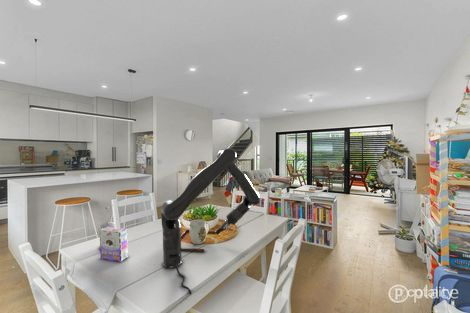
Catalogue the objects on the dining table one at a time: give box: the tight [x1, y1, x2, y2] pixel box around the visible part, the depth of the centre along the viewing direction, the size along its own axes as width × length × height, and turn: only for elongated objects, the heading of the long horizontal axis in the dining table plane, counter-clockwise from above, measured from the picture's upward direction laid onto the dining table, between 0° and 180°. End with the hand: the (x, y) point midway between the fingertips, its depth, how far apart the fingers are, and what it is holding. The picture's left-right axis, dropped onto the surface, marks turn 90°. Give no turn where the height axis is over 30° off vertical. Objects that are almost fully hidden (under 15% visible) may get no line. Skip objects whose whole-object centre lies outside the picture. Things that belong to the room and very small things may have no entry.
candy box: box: [98, 226, 129, 263], centre depth 121 cm, size 14×6×16 cm, turn 74°
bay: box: [181, 228, 217, 253], centre depth 143 cm, size 22×29×2 cm
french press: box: [97, 206, 116, 237], centre depth 134 cm, size 10×12×25 cm
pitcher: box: [187, 218, 210, 245], centre depth 141 cm, size 11×18×14 cm, turn 142°
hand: (216, 233), depth 140 cm, fingers closed
